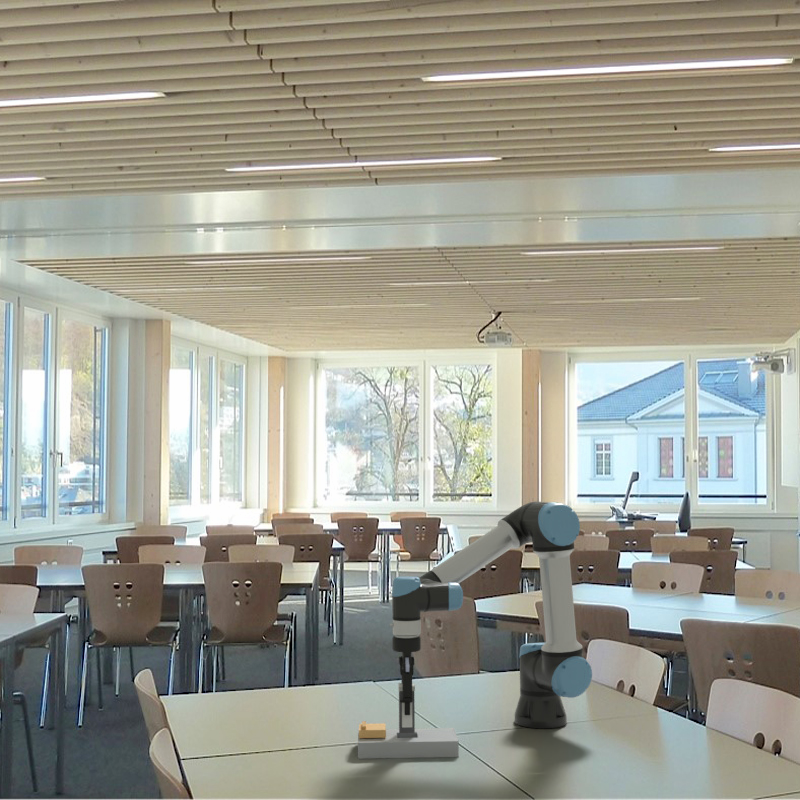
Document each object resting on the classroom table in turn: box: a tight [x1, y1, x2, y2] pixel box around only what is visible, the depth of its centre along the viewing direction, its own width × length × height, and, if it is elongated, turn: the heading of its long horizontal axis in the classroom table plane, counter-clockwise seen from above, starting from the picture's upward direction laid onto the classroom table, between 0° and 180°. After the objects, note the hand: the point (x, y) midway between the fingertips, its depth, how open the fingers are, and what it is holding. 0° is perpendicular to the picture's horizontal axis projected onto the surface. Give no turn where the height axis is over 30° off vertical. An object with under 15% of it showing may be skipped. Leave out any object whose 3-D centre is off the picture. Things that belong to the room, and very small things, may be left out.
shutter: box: [358, 720, 387, 738], centre depth 286 cm, size 7×7×3 cm
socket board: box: [357, 727, 460, 759], centre depth 286 cm, size 26×14×4 cm, turn 92°
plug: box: [397, 682, 416, 733], centre depth 286 cm, size 4×4×12 cm
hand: (406, 724), depth 286 cm, fingers closed on plug, 4 cm apart
